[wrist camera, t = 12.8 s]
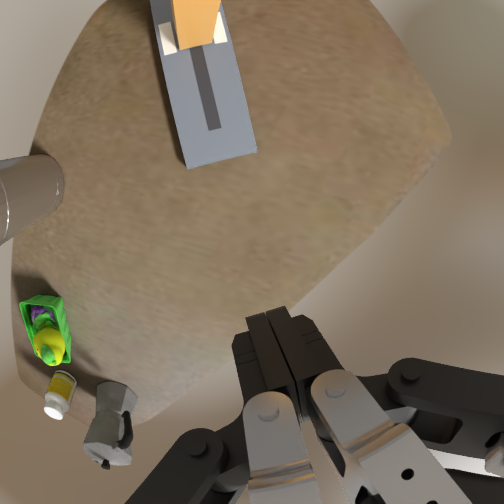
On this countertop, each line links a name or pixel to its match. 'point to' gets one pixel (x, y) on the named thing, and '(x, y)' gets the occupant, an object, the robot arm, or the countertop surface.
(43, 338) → the fruit basket
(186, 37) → the slider tab
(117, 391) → the coffeepot
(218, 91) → the switch panel
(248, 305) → the countertop surface
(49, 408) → the supplement bottle
